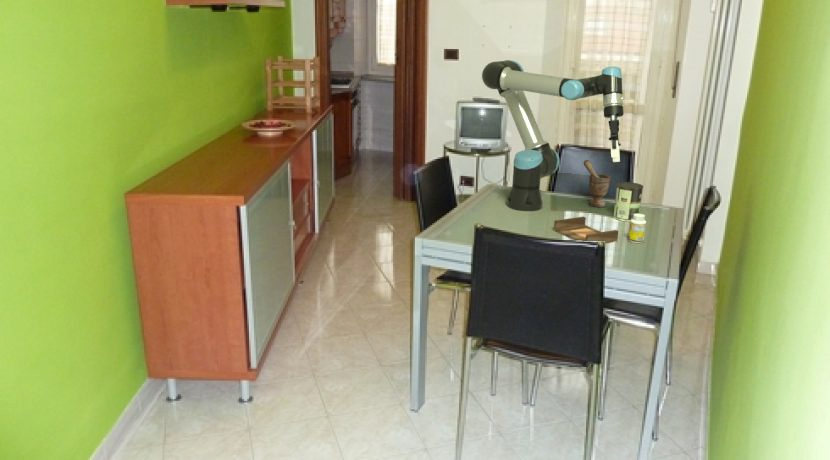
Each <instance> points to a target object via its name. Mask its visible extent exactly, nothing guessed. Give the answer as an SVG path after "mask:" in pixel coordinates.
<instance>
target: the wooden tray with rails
mask: <svg viewBox="0 0 830 460" xmlns="http://www.w3.org/2000/svg"><path fill="white" fill-rule="evenodd" d="M586 220H587V219H586V217H585V216H577V217H572V218H571V217H570V218H564V219H556V220H554V222H553V232H556V233H558V234H561V235H562V236H565V237H566V238H569V239H571V240H573V241H575V240H582V241H605V244H609V243H614V242H615V241H616V242H618V238H619V230H617V229H613V230H607V231H600V230H598V229H596V228H593V227H591V226H589V225H586Z"/></svg>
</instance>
